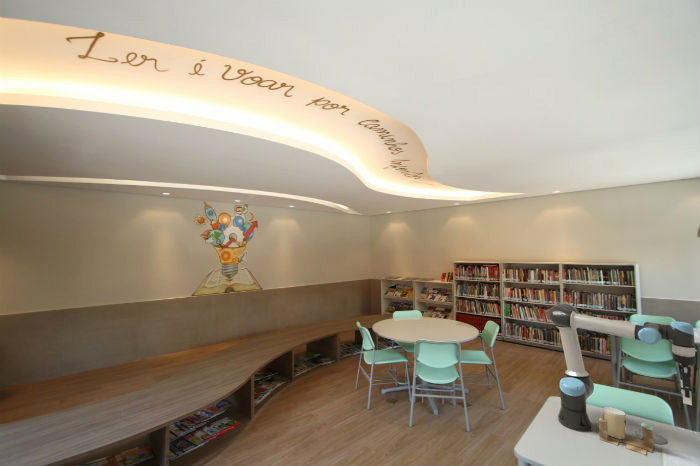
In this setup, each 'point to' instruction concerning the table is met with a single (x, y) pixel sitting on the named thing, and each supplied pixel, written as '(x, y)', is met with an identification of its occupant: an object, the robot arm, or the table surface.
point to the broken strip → (604, 437)
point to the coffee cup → (615, 422)
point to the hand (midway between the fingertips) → (686, 399)
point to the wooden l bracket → (645, 444)
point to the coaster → (656, 437)
